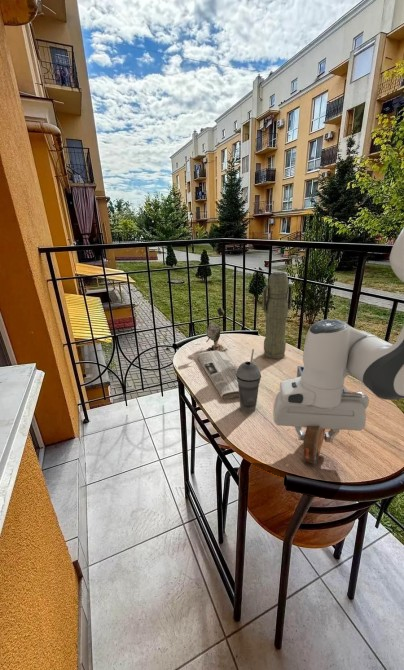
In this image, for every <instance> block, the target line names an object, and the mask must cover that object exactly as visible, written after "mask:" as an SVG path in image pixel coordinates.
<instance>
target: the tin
mask: <svg viewBox="0 0 404 670" xmlns="http://www.w3.org/2000/svg"><path fill="white" fill-rule="evenodd" d="M319 427H320V426H307V427H306V429H305V431H304V432H305V436H304V441H303V445H302V448H303V456H302V459H303V461H304V462H307V463H310V464H313V465H316V464H317V462H318V459H319V455H320V452H321V448H322V446H323V441H324V436H325V432H326V429H325V428H319Z"/></svg>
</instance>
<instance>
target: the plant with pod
mask: <svg viewBox="0 0 404 670" xmlns="http://www.w3.org/2000/svg"><path fill="white" fill-rule="evenodd" d="M216 311H217V314H218V323H220V321H221V316H223V317H224V318H225V317H226V316H225V310H224V309H223V307H222V306H220V307H219V308H217V309H216ZM206 336H207V340H206V342H205V343H208V342H209V341H210V340H211V341H213V344H212V345H211V346H210V347H207V348H208V349H209V350H210V351H216V350H217V351H221V352H224V351H228V348H226V347H225V346H223V345H222V344H220V343H219V340H220V338H221V326H220V324H217V323H216V322H215V321H212V322H211V323H210V324H209V325H208V327H207V329H206ZM209 350H208V351H209Z"/></svg>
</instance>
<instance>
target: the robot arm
mask: <svg viewBox="0 0 404 670" xmlns="http://www.w3.org/2000/svg"><path fill="white" fill-rule="evenodd" d="M388 259H389V264H390V267H391V270H392V272H393V273H394V275H395V276H396V277H397V278H398V279H399V280H400V281H401V282H402V283H404V227H403V228H402V230H401V231H400V233H399V234H398V236H397V238H396V239H395V242H394V243H393V245H392V247H391V251H390V254H389V258H388ZM302 363H303V366H304V369H303V371H302V374H301V376H300V377H297V376H296V377H294V378H290V379H285V380H282V381H280V383H279V392H278V393H276V395H275V398H274V402H273V409H272V420H273V422H274V423H275V425H276V426H283V427H294V430H295V432H296V433H297V440H298V441H302V442H304V436H305V432H306V431H305V430H302V428H307V426H320V427H319V428H325V430H327V429H328V431H325V432H324V438H323V440H324V442H325V443H330V444H331V443H333V439H334V438H335V437H336V436H338V434H339V433H340V430H341V431H342V430H343V431H357V432H359V431H360V432H361V431H362V430H363V429H365V428H366V423H367V422H366V421H367V411H366V409H367V408H368V406H369V403H370V400H369V396H367V395H366V394H365V393H363V392H362V391H343V386H344V384H345V378H346V377H347V376H353V377H354V378H355V379H357V380H358V381H359V382H361V383H362V384H363V385H364V386H365V387H366V388H367V389H368V390H370V392H372V393H373V394H374V395H375V396H376V397H377V398H379V399H381V400H386V401H397V400H402V399H404V325H403V326H402V328H401V330H400V333H399V335H398V338H397V339H396V341H395V342H394V343H390V342H388V341H386V340H384V339H382V338H381V337H379V336H377V335H375V334H373V333H370V332H368V331H365V330H361V329H356V328H354V327H352V326H351V325H350V324H348V323H347V322H346V321H344V320H341V319H336V318H331V319H330V318H328V319H327V318H326V319H321V320H318V321H316V322H314V323H313V324H311V326H310V327H309V329H308V331H307V333H306V335H305V340H304V345H303V353H302ZM344 387H345V386H344Z"/></svg>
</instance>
